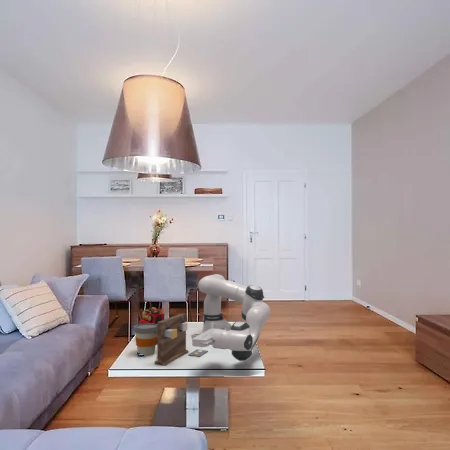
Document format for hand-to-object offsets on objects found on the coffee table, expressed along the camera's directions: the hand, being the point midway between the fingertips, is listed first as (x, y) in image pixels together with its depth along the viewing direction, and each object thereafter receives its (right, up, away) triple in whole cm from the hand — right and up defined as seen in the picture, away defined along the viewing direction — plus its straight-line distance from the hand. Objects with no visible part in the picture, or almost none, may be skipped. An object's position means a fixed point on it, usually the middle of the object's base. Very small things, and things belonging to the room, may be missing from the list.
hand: (192, 335), depth 178 cm
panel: (-12, -15, +13) cm, 23 cm away
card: (+1, -16, +20) cm, 25 cm away
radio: (-29, -17, +42) cm, 54 cm away
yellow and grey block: (-13, -2, +5) cm, 14 cm away
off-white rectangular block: (-9, -3, +20) cm, 22 cm away
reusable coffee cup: (-27, -16, +20) cm, 38 cm away
